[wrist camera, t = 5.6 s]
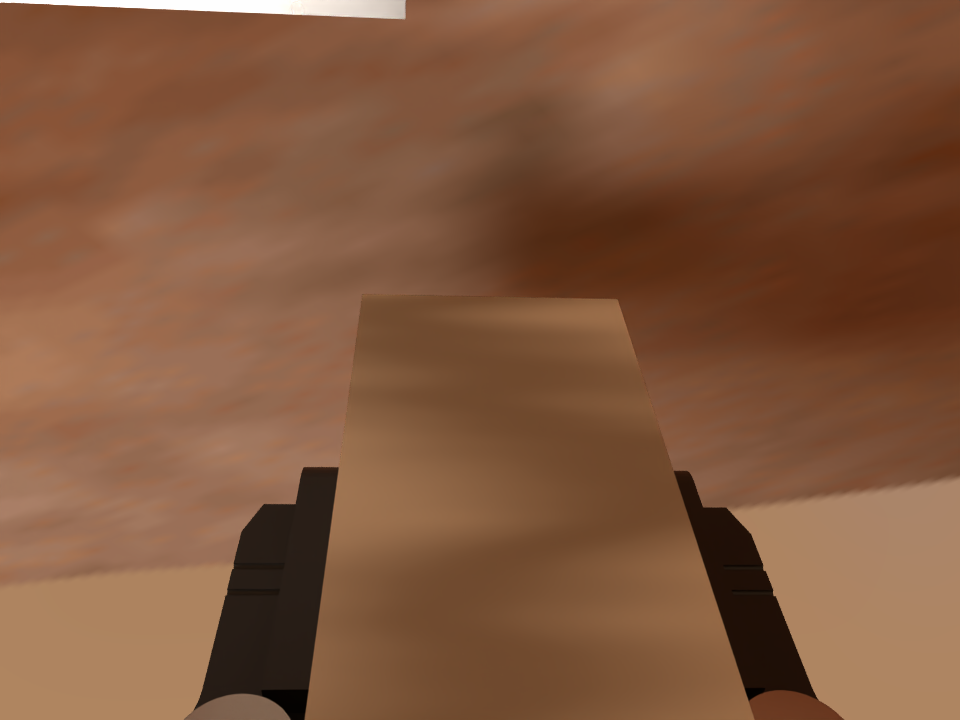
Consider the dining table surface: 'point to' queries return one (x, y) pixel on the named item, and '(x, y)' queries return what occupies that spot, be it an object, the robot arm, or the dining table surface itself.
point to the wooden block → (511, 527)
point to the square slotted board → (258, 6)
